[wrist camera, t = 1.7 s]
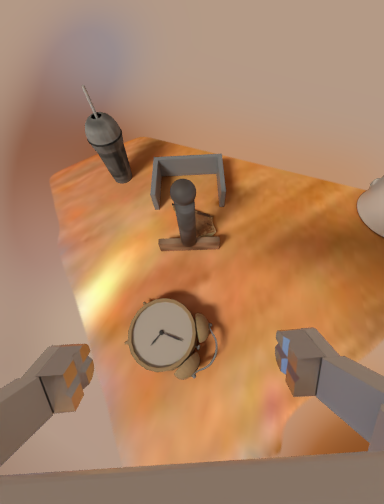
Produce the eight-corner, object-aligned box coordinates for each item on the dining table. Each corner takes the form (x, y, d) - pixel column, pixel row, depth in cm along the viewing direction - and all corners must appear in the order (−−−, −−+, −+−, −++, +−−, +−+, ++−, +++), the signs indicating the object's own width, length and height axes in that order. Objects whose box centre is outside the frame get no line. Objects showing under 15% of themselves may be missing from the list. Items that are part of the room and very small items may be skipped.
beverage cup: (113, 191, 52) (65, 105, 34) (106, 172, 55) (60, 84, 37) (140, 181, 53) (109, 93, 35) (132, 163, 56) (100, 73, 38)
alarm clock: (144, 289, 38) (225, 315, 32) (154, 297, 42) (227, 322, 37) (113, 354, 33) (201, 396, 28) (128, 356, 37) (207, 393, 32)
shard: (172, 207, 50) (171, 202, 48) (202, 198, 51) (202, 193, 49) (186, 245, 45) (186, 241, 43) (219, 234, 46) (220, 230, 44)
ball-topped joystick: (218, 238, 44) (226, 170, 28) (219, 254, 43) (229, 191, 26) (161, 241, 45) (137, 175, 28) (160, 256, 43) (135, 195, 27)
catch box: (220, 170, 54) (221, 153, 49) (223, 206, 48) (226, 191, 44) (157, 173, 54) (153, 157, 50) (155, 209, 49) (150, 194, 45)
